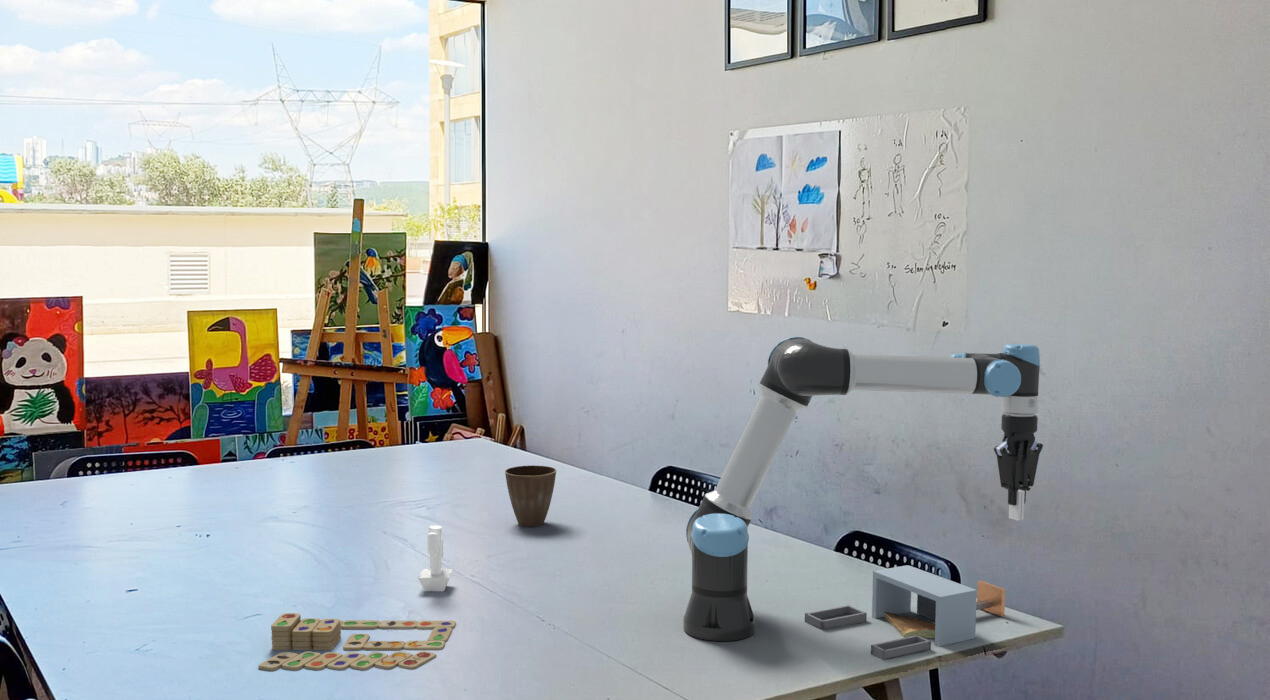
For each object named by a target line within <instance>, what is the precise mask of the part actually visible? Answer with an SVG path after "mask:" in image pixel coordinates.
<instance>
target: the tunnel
mask: <svg viewBox="0 0 1270 700" xmlns="http://www.w3.org/2000/svg"><path fill="white" fill-rule="evenodd" d="M977 591H978V589H975V588H972V587H970V586H966V585H963V584H961V583H959V582H956V581H953V580H950V579H948V578H944V577H943V576H939V575H936V574H934V573H931V572H928V571H925V570H922V569H920V568H917V567H914V566H911V565H902V566H901V565H899V566H894V567H889V568H884V569H878V570H872V600H871V601H872V604H871V605H872V606H871V608H872V609H871V617H872V618H874V619H879V618H886V615H885V612H888V613H893V614H897V615H901V614H905V613H910V612H911V610H912V609H911V608H912V607H911V606H912V593H915V595H916V594H919V595H921V596H924V597H927V598H929V599H932V600H934V601H936V620H935V621H934V623H935V638H934V645H936V646H938V647H943V646H946V645H950V644H956V643H960V642H964V641H968V640H973V639H976V628H977V625H976V624H977V610H976V602H977Z"/></svg>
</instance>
